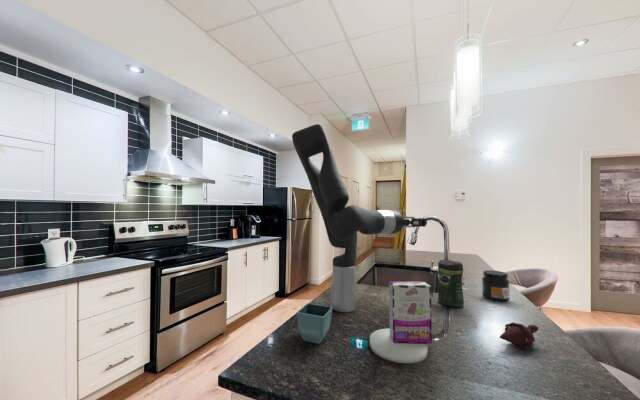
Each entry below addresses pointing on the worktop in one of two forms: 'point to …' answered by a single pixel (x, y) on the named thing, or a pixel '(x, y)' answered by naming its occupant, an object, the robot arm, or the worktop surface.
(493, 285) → the supplement container
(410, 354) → the plate
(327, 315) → the flower pot
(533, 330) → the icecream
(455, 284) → the coffee jar
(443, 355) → the worktop surface
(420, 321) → the candy bar box
